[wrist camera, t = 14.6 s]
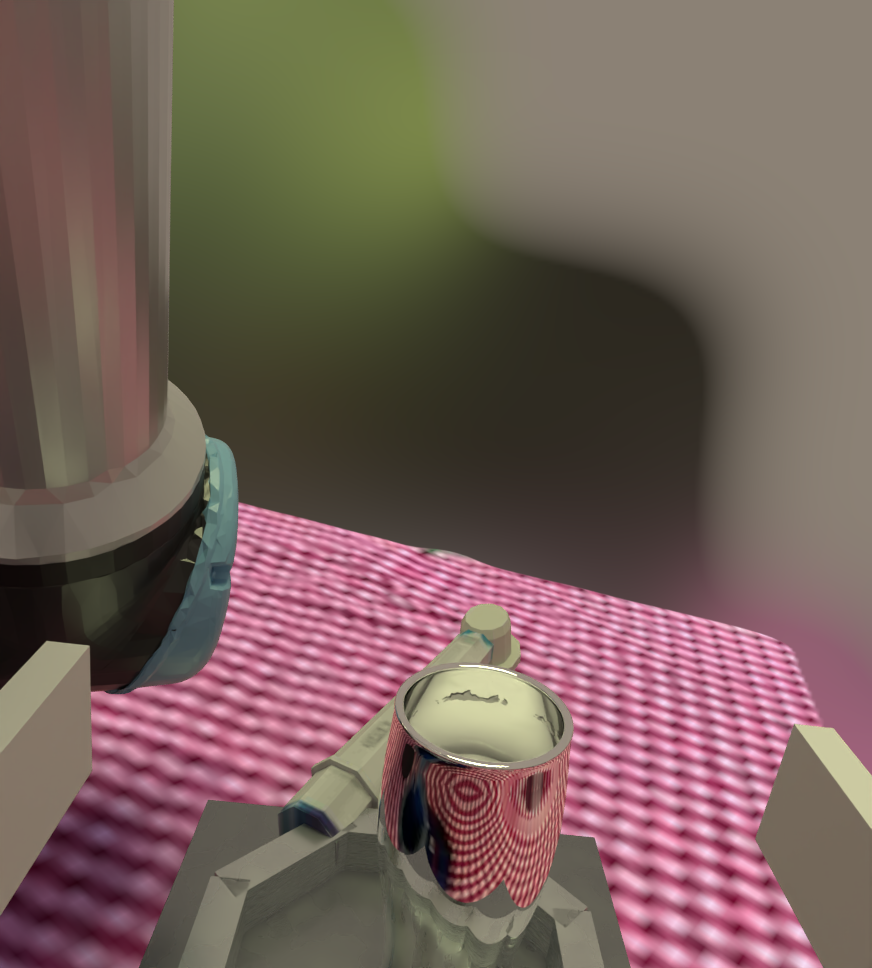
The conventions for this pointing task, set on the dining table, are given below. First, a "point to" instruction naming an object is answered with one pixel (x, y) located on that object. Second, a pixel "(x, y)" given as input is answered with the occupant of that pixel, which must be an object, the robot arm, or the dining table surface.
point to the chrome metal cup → (468, 814)
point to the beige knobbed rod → (358, 764)
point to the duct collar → (343, 900)
